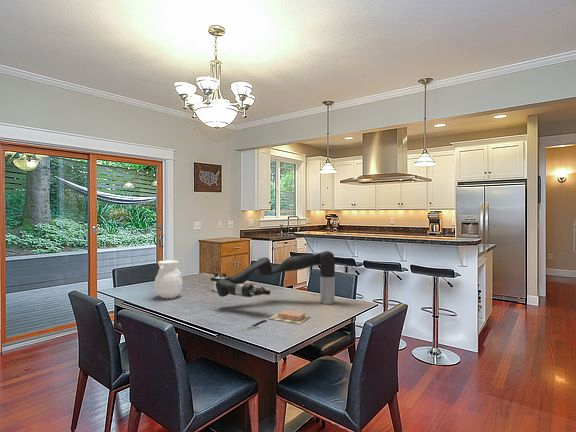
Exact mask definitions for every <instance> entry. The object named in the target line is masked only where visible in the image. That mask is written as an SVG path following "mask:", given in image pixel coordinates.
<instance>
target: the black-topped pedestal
mask: <svg viewBox="0 0 576 432" xmlns="http://www.w3.org/2000/svg"><path fill="white" fill-rule="evenodd" d="M212 275H213V276H212V277H210V281H211V282H213V291H214V292H217V293H218V291H217V288H216V282H217V281H218V280H221V279H225V280H228V281H229V279H230V278H231V277H232V276H228V274H227V273H224V272H222V273H221V274H220V273H219V272H217V273H213V274H212Z"/></svg>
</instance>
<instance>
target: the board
mask: <svg viewBox="0 0 576 432" xmlns="http://www.w3.org/2000/svg"><path fill="white" fill-rule="evenodd" d="M310 318H311V315H305V318H303V319H302V320H300V321H295V320H289V319H282V318H279V317H278V313H276V314H274V315H272V316H269V317H268V320H269V321H275V322H283V323H289V324H295V325H301V324H302V323H304V322H305V321H307V320H308V319H310Z"/></svg>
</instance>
